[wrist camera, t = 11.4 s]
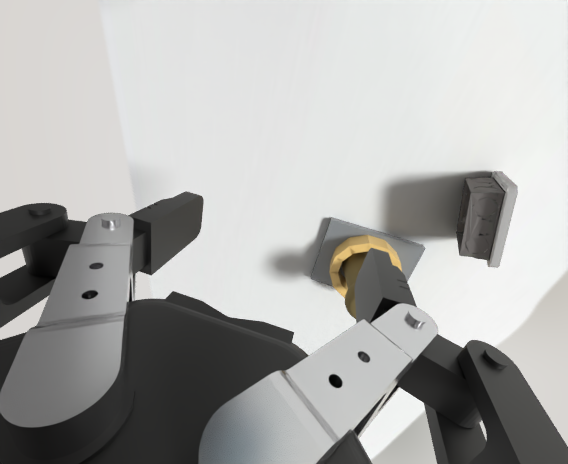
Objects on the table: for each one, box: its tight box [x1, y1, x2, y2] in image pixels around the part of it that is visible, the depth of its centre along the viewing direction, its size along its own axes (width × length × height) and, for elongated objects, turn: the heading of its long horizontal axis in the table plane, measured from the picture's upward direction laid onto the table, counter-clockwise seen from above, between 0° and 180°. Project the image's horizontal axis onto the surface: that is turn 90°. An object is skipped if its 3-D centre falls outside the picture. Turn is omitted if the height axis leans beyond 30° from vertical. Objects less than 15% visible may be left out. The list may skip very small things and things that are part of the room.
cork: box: [342, 251, 368, 319], centre depth 35 cm, size 6×6×11 cm
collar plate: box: [311, 217, 425, 298], centre depth 40 cm, size 11×14×4 cm
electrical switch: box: [456, 171, 518, 267], centre depth 31 cm, size 9×5×9 cm, turn 5°
